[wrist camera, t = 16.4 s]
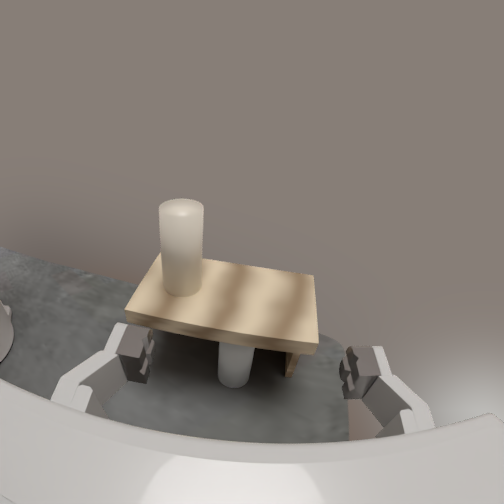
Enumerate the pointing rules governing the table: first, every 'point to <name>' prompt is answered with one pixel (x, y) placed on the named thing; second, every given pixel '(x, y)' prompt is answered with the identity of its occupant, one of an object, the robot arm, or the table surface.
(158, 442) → the robot arm
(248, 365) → the white cylinder pillar
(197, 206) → the white rounded cylinder
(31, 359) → the table surface
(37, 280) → the table surface
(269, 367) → the table surface
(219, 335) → the counter
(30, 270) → the table surface
